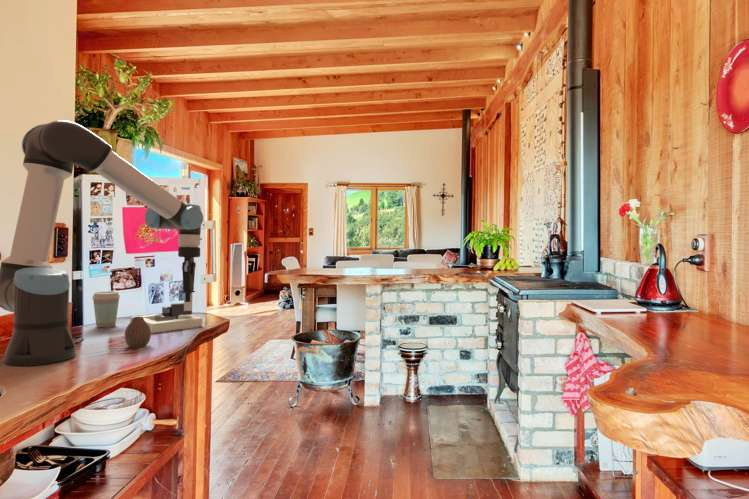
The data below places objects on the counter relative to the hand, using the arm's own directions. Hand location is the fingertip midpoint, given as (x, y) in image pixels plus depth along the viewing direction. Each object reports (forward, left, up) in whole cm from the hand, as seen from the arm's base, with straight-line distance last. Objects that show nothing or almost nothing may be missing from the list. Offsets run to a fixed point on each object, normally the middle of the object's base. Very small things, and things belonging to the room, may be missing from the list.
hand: (188, 310), depth 170 cm
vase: (-26, -21, -6) cm, 34 cm away
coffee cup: (-22, +16, -6) cm, 28 cm away
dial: (-4, +3, -4) cm, 6 cm away
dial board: (-6, +4, -6) cm, 9 cm away
